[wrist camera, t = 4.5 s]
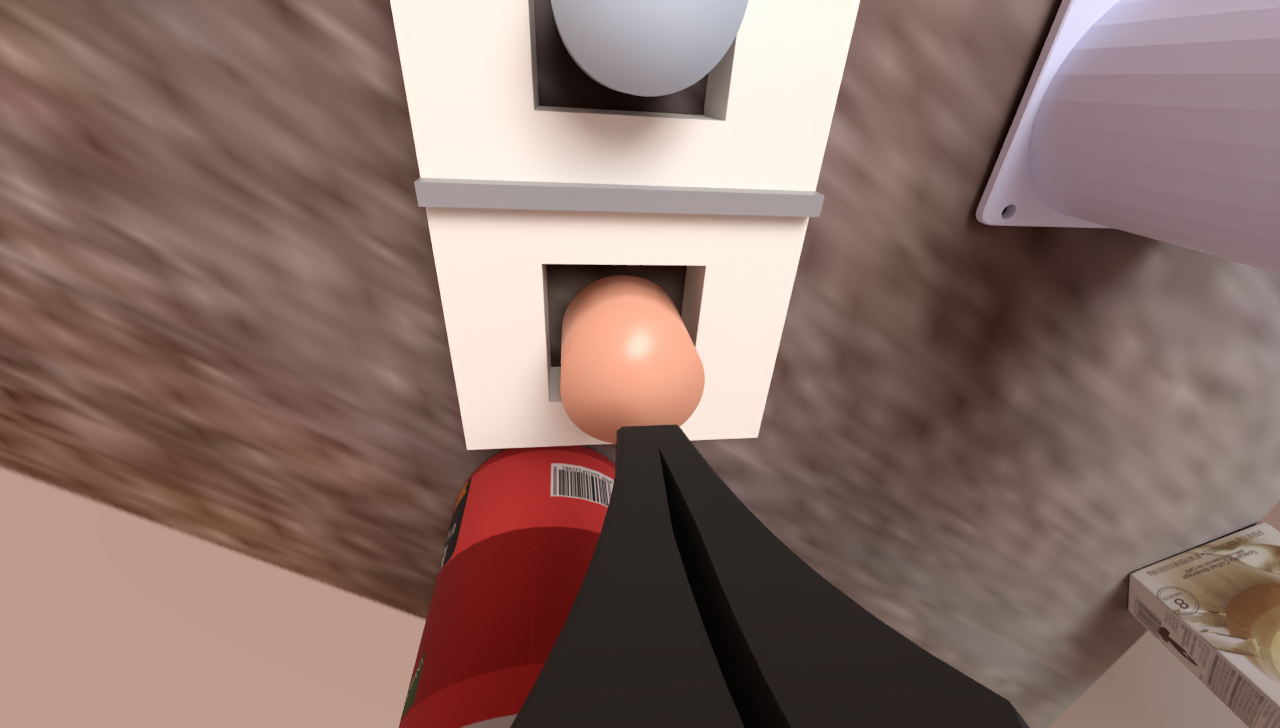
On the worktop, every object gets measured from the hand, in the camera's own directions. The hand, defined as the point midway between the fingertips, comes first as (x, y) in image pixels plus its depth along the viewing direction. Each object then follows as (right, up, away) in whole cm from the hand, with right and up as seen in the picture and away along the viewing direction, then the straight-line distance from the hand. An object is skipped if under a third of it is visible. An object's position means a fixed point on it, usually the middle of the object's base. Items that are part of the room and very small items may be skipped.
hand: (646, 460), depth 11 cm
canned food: (-4, -4, +12) cm, 13 cm away
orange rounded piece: (-1, +3, +5) cm, 6 cm away
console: (-1, +8, +5) cm, 9 cm away
